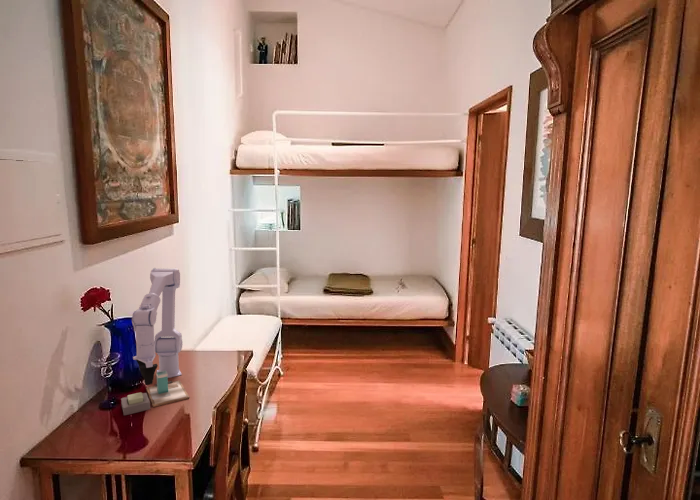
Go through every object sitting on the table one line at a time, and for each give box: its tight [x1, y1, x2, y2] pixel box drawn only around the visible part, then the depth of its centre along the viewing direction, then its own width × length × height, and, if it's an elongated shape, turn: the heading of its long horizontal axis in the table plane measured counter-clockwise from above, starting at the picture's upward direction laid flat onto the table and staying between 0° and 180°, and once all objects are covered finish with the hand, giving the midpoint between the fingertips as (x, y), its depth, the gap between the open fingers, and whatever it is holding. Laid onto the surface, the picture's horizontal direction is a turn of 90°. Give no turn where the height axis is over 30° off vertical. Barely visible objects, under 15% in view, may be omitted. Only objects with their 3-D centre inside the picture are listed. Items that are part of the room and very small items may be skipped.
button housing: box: [120, 392, 151, 416], centre depth 145 cm, size 8×8×3 cm
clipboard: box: [145, 380, 190, 408], centre depth 155 cm, size 16×12×1 cm
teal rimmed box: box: [155, 371, 169, 394], centre depth 155 cm, size 3×3×7 cm
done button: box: [126, 391, 143, 405], centre depth 145 cm, size 4×4×3 cm
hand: (147, 380), depth 148 cm, fingers open, 7 cm apart
